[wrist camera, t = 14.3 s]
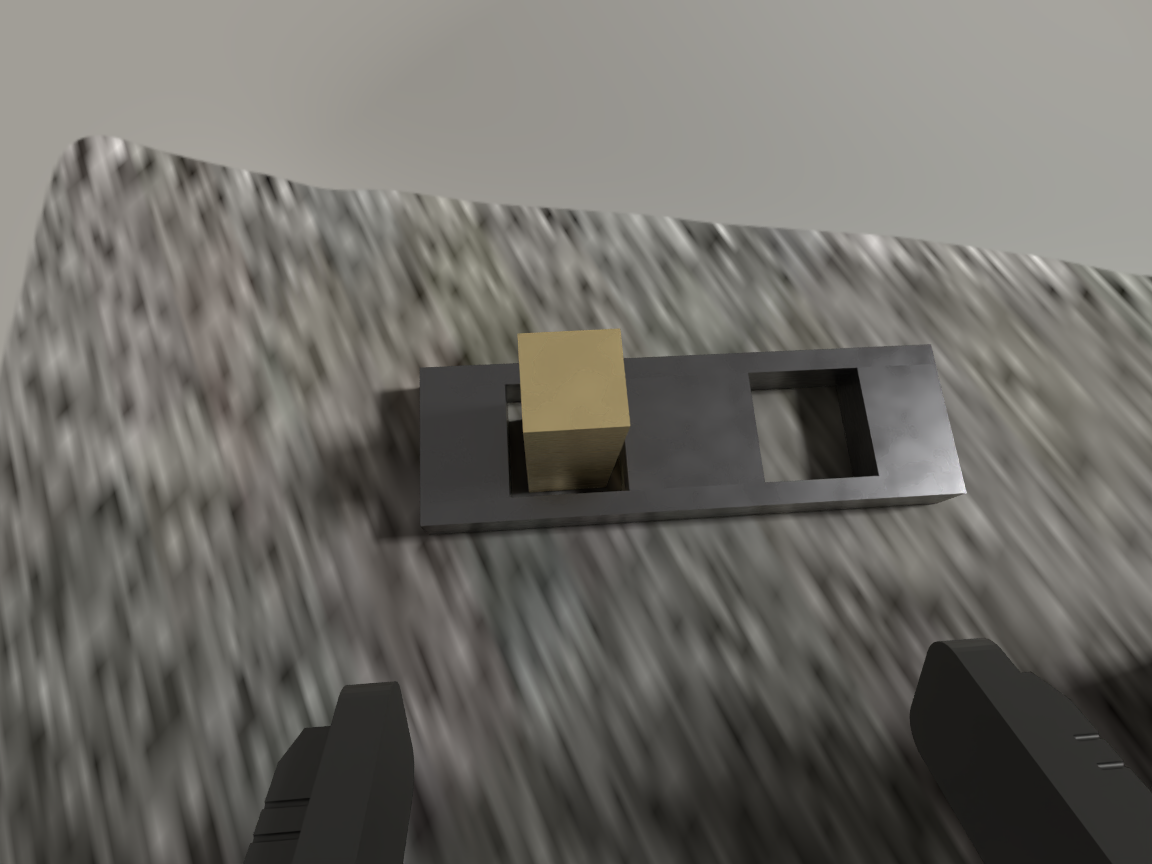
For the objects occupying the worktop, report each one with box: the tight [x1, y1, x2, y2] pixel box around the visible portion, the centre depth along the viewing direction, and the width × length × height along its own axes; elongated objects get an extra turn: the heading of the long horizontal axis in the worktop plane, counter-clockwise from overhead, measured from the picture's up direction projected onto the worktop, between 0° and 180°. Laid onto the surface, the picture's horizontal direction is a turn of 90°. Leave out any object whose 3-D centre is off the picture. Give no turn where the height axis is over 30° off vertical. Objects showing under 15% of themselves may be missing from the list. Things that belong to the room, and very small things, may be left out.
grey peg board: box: [420, 344, 966, 535], centre depth 40 cm, size 30×9×3 cm, turn 94°
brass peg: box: [518, 329, 630, 492], centre depth 35 cm, size 4×4×12 cm
